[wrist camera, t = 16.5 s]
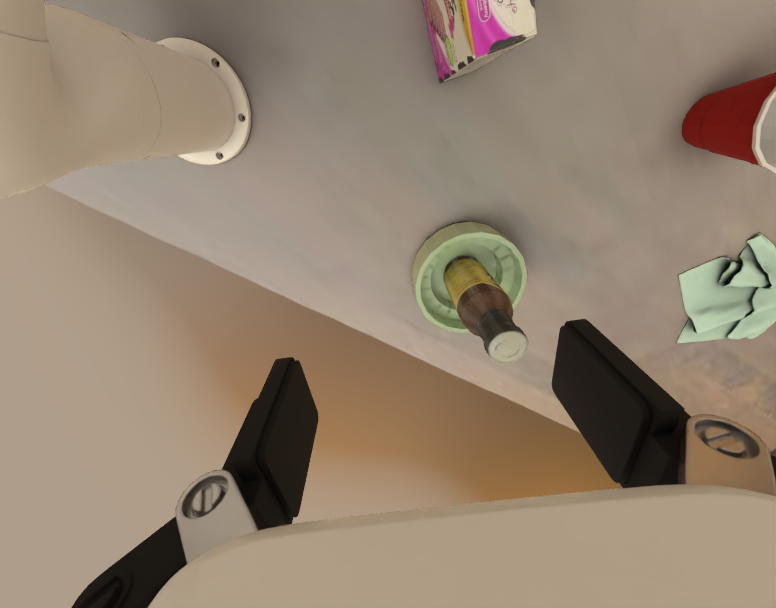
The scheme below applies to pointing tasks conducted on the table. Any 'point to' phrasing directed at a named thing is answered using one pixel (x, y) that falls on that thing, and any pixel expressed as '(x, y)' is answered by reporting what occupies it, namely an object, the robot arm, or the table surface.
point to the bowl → (474, 243)
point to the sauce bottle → (484, 309)
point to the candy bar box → (476, 32)
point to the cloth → (731, 295)
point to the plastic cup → (737, 122)
